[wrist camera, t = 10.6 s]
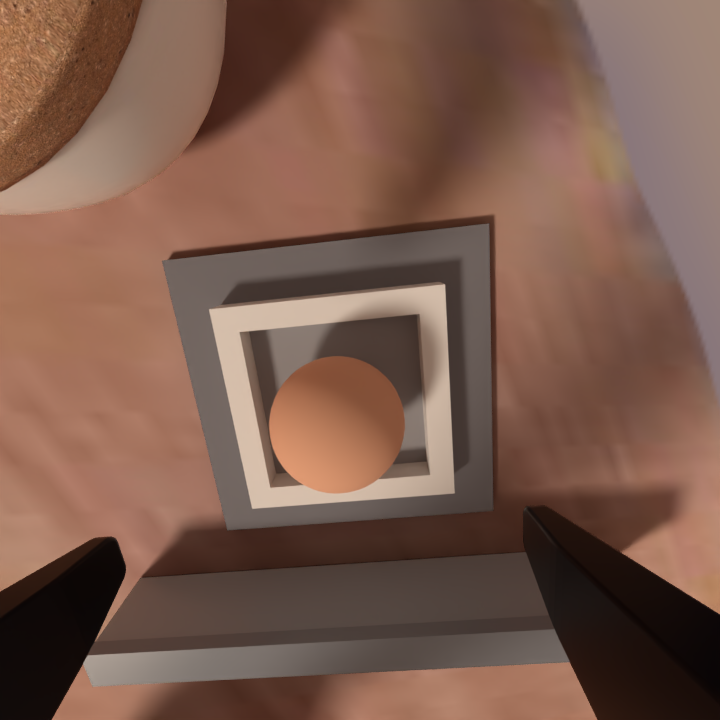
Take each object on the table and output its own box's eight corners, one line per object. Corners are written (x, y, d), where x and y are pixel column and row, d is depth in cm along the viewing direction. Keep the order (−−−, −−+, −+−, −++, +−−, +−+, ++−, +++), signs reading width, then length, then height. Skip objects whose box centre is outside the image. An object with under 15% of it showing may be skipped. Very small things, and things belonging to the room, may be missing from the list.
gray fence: (601, 571, 20) (663, 657, 15) (147, 599, 21) (92, 686, 17) (603, 541, 19) (668, 622, 15) (138, 573, 20) (79, 655, 16)
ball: (403, 444, 17) (418, 518, 12) (294, 454, 18) (267, 531, 13) (393, 336, 16) (406, 373, 11) (275, 348, 16) (237, 390, 11)
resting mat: (490, 505, 19) (501, 528, 17) (230, 524, 19) (218, 548, 18) (486, 224, 15) (499, 221, 14) (167, 260, 16) (145, 261, 14)
